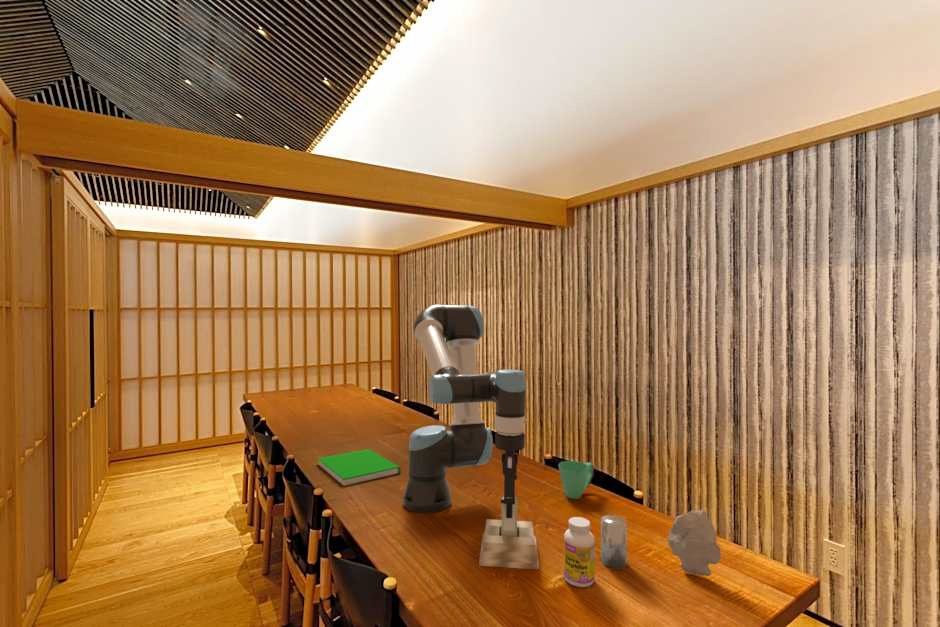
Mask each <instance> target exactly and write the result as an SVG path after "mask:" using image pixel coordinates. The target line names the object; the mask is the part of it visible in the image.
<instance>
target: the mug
mask: <svg viewBox="0 0 940 627" xmlns="http://www.w3.org/2000/svg"><path fill="white" fill-rule="evenodd" d="M558 471H559V475H560V480H561V485H562V489H563V491H564V493H565V496H566V497H567V498H569V499H571V500H572V499H573V500H577V499H580V498H581V497H582V495H583V493H584V491H585V490H586V489H587V488H588V487H589V486H590V484H591V482H592V480H593V478H594V476H595V467H594V465H593V464H592V462H585V463H584V462H581V461H575V460H573V461H572V460H564V461H560V462H559V463H558Z"/></svg>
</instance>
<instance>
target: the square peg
mask: <svg viewBox="0 0 940 627" xmlns="http://www.w3.org/2000/svg"><path fill="white" fill-rule="evenodd" d="M503 499H504V496H501V500H503ZM501 520H502V531H501V536H511V537H517V521H518V497H517V496H515V531H504V530H503V503H501Z"/></svg>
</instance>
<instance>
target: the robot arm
mask: <svg viewBox="0 0 940 627" xmlns="http://www.w3.org/2000/svg"><path fill="white" fill-rule="evenodd" d="M479 309H480V308H478V307H477V306H474V305H467V304H463V305H462V304H461V305H459V304H458V305H456V304H455V305H452V304H433V305H430V306H426V308H424V309H423V310H421V311H420V313H418V315H417V316H416V317H415V319H414V321H413V322H414V323H413V326H412V327H413V328H412V330H413V335H414V338H415V340H416V341H417V342H418V343H419V344H420V345H421V348H422V351H423V354H424V357H425V359H426V362H427V365H428V368H429V371H430V373H431V376H430V377H429V380H428V383H427V384H428V387H427V390H428V392H427V393H428V398H429V401H430V402H431V403H432V404H436V405H437V404H438V405H440V404H443V405H450V404H451V405H453V415H454V416H453V417H454V418H453V420H452V422H451V423H450V424H449V428H450V429H449V430H447V428H446V426H444V425H439V424H438V425H435V424H434V425H426V426H423V427H420V428H417V429H415V430H414V431H412V432H411V434H410V436H409V443H408V444H409V446H408V452H409V453H408V454H409V455H408V456H409V460H408V466H409V467H408V479H407V483H406V487H405V490H404V493H403V496H402V505H403V507H404V508H405V509H406V510H409V511H411V512H414V513H420V514H421V513H422V514H423V513H424V514H428V513H431V514H432V513H437V512H440V511H443V510H446V509H447V508H448V507H450V505H451V504H452V494H451V490H450V487H449V484H448V481H447V476H446V475H447V472H446V471H447V469H450V468H451V469H452V468H465V467H476V466H481V465H485V464H487V463H488V462H489V461H490V459H491V456H492V453H493V452H492V451H493V444H494V447H496V449H498V450H500V451H504V452H502V453H501V464H502V475H503V476H504V481H503V482H504V484H503V486H504V488H503V490H504V491H503V494H504V495H503V497H504V499H503V500H502V499H500V504H502V503H503V530H504V531H515V497H516V495H515V494H516V491H515V489H516V488H515V487H516V486H515V485H516V480H518V478H517V477H518V476H517V471H518V470H517V468H518V466H517V465H518V459H519V457H518V453H515V452H516V451H517V452H519V451H522V450H524V448H525V447H526V434H525V433H524V432H525V431H526V430H525V429H526V423H528V419H527V418H526V390H527V384H526V374H525V372H524V371H523V370H520V369H509V368H505V369H499V370H497V372H495V371H487V372H485V373H478V371H477V370H478V369H477V357H476V356H477V355H476V347H477V345H478V344H479V343H480V341H479V340H480V339H481V338H482V337H483V335H484V328H485V324H484V323H485V322H484V317H483V315H482V312H481V310H479ZM449 348H450V349H449ZM487 402H490V403H491V402H493V403H495V404H494V405H495V412H494V413H495V414H494V417H495V418H494V431H495V433H494V440H493V434H492V431H491V429H490V428H489V427H487V426H486V422H485V421H484V419H482V417H481V415H480V414H481V412H480V403H487ZM493 441H494V443H493Z"/></svg>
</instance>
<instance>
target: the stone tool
mask: <svg viewBox="0 0 940 627" xmlns="http://www.w3.org/2000/svg"><path fill="white" fill-rule="evenodd" d="M667 542H668V544H667V545H668V546H669V548H670V549H671V552H672V554H673V555H674V556H678V558H679V559H680V562H681V564H680V568H681V569H682V570H683V571H684V572H685V573H689V574H691V575H692V576H694V575H696V576H697V575H699V576H701V577H703V576H705V577H709V576H711V575H712V570H711V569H710V567H709V564H711V565H717V564H718V563H719V562H720V560H721V558H722V555H721V553H722V551H721V547H720V545H719V544H717V543H718V542H717V531H716V529H715V527H714V525H713V524H712V522H711V520H710V518H709V516H708V513H707V511H706V509H700V510H699V509H698V510H695V509H692V510H691V511H688V512H687V513H684V514H681V515H677V516H676V517H675V519H674V521H673V523H672V526H671V527H670V530H669V534H668V536H667Z"/></svg>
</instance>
